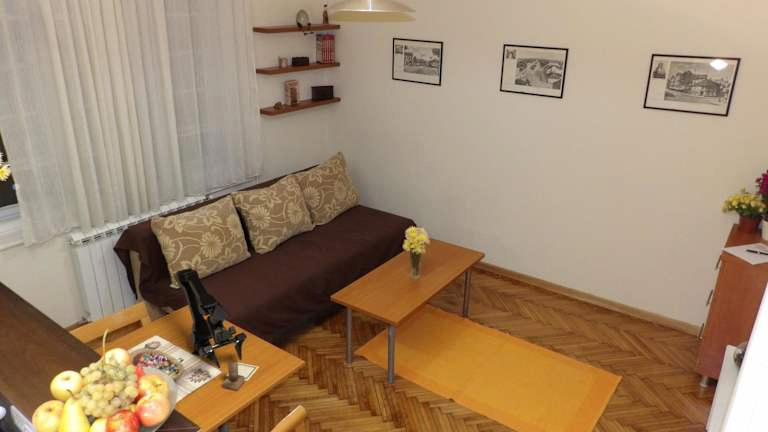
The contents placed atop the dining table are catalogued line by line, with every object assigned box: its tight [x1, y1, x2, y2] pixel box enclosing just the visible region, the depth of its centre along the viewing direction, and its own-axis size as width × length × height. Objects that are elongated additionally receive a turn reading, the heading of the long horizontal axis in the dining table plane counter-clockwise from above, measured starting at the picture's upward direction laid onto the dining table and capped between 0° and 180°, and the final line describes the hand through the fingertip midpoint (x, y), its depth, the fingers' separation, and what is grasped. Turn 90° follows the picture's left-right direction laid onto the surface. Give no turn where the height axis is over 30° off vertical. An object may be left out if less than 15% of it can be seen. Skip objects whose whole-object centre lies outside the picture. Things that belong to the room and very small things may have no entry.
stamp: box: [222, 359, 246, 392], centre depth 225 cm, size 6×6×11 cm
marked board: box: [225, 362, 259, 382], centre depth 236 cm, size 10×10×1 cm
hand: (230, 363), depth 226 cm, fingers open, 9 cm apart
